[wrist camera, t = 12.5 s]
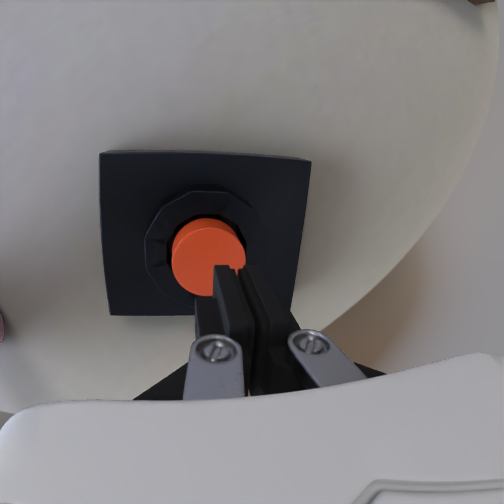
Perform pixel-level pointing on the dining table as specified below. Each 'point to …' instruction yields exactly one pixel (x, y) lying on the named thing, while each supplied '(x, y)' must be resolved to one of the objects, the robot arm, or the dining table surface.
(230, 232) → the button
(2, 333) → the beverage can
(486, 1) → the panel
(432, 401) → the robot arm
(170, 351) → the dining table surface
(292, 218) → the button block
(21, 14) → the dining table surface
